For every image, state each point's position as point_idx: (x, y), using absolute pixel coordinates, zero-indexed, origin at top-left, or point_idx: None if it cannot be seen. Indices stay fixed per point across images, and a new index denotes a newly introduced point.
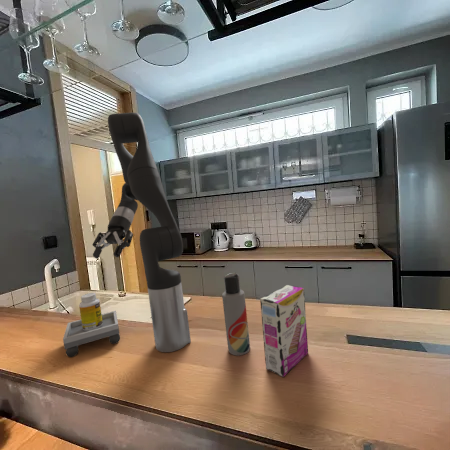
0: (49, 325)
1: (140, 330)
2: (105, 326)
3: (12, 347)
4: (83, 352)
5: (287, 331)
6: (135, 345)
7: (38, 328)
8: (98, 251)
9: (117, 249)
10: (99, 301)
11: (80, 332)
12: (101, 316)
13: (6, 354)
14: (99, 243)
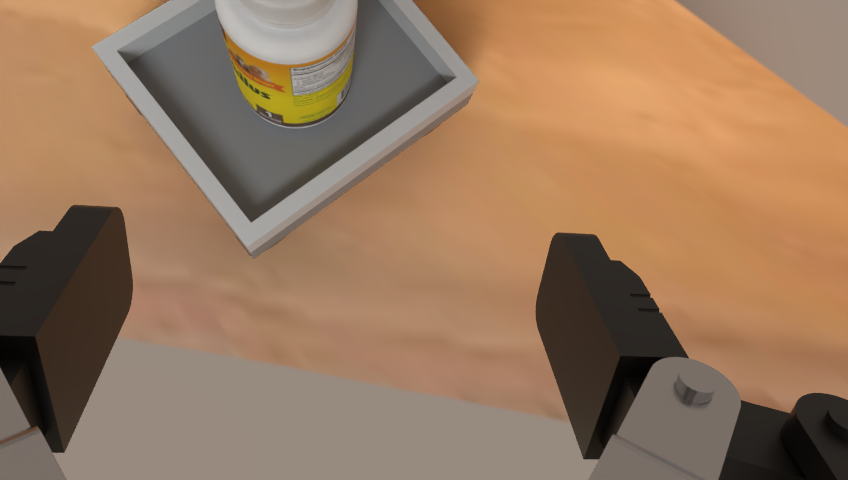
0: (775, 298)
1: None
2: (163, 21)
3: (731, 73)
4: None
5: None
6: (23, 76)
7: (807, 261)
8: (580, 342)
9: (30, 275)
10: (224, 29)
11: None
12: (235, 74)
13: (691, 20)
14: (673, 429)
